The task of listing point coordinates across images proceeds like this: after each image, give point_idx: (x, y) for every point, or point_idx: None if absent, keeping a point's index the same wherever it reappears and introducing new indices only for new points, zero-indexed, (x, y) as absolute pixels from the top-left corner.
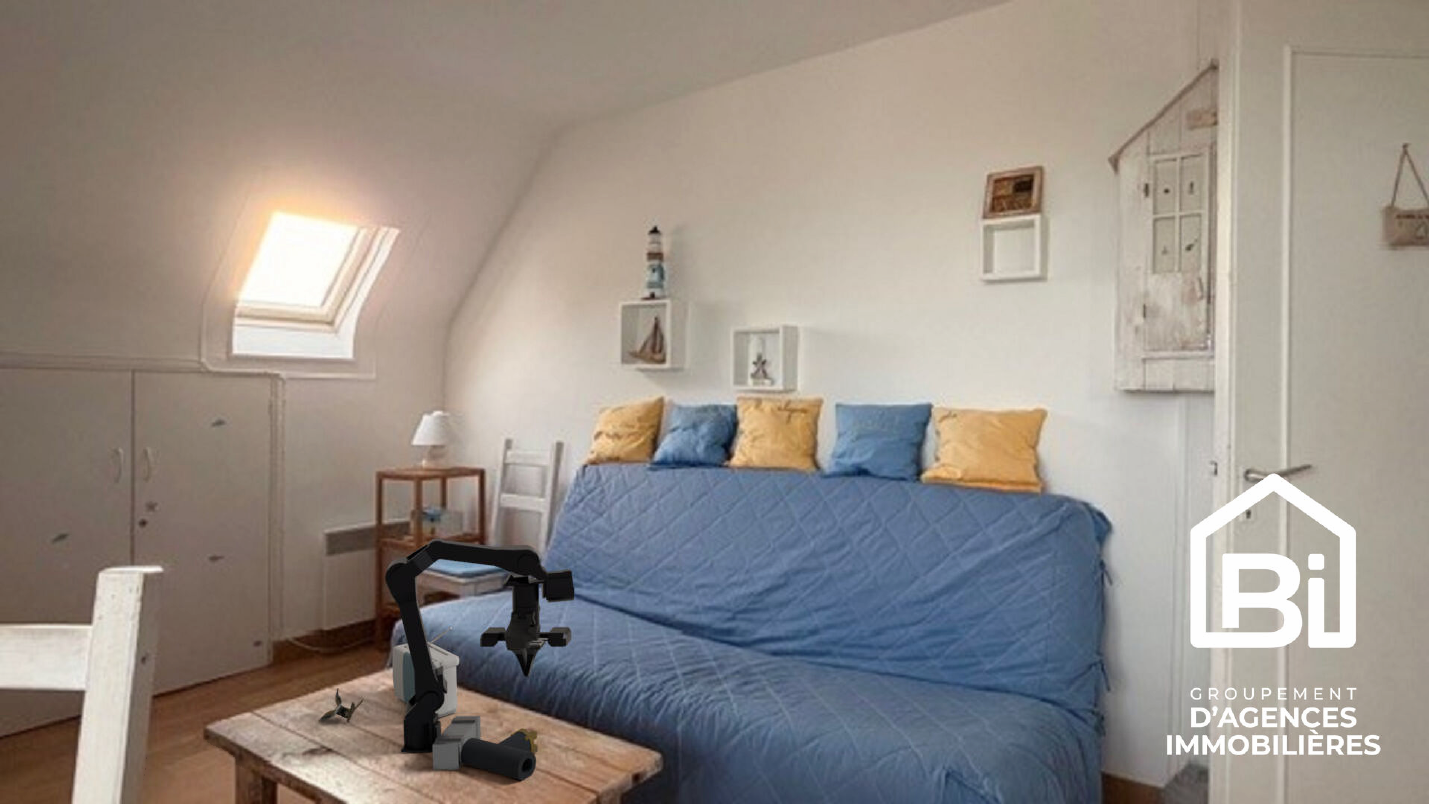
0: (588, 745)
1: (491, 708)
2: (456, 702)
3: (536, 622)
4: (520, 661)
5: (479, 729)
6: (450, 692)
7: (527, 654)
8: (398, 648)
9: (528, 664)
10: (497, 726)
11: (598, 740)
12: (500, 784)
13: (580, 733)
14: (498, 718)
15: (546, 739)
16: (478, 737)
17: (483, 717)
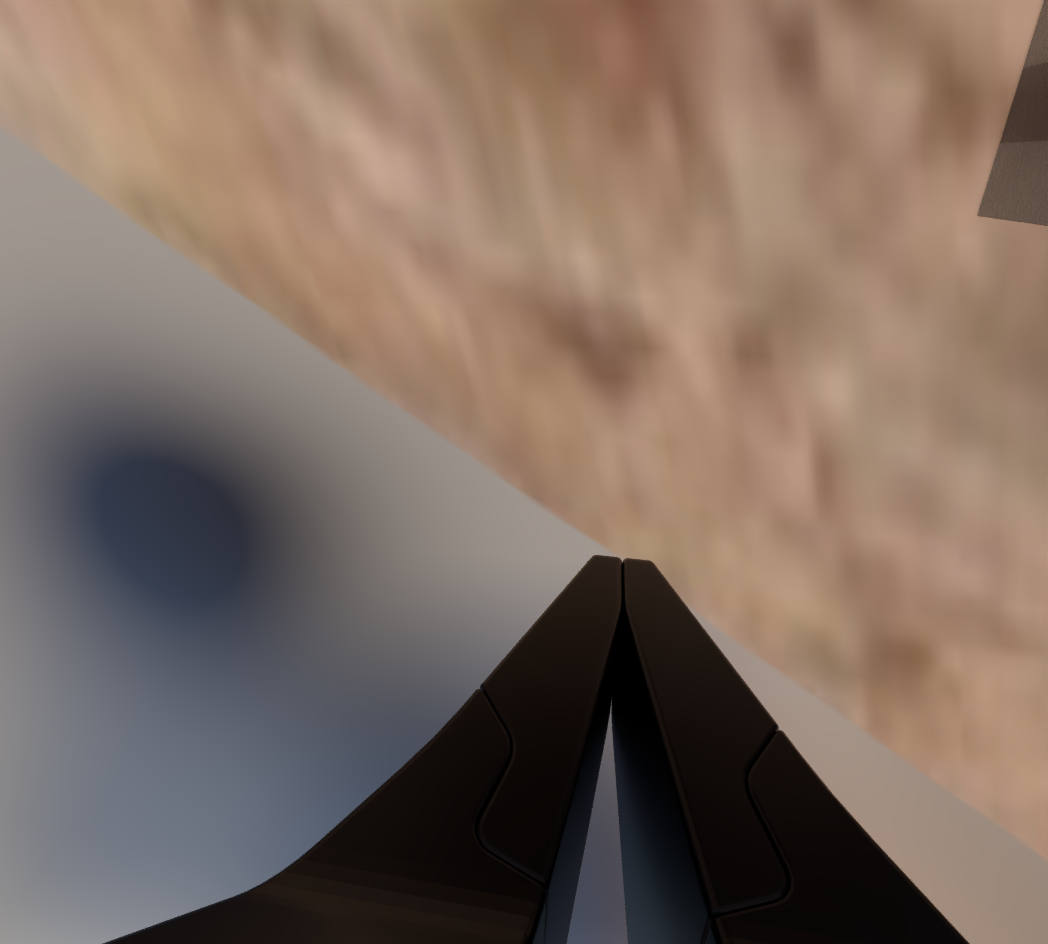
0: (131, 63)
1: (906, 690)
2: None
3: None
4: (752, 753)
5: (1041, 190)
6: None
7: (521, 912)
8: None
9: (551, 670)
10: (850, 438)
11: (105, 155)
12: None
13: (263, 281)
14: (852, 556)
15: (458, 189)
16: (1019, 151)
17: (957, 581)
